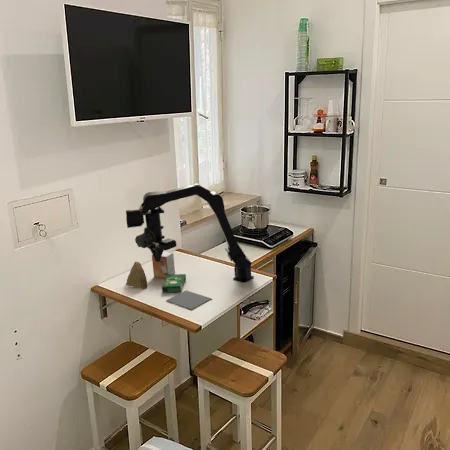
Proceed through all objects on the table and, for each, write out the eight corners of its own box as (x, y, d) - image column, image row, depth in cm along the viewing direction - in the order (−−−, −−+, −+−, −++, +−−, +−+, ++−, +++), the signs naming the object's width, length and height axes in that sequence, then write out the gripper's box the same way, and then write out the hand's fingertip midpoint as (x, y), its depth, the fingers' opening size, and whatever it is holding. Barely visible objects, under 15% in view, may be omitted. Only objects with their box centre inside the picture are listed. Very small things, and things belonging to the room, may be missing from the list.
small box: (153, 277, 212) (151, 254, 209) (161, 272, 217) (158, 250, 214) (168, 279, 208) (166, 256, 205) (175, 274, 213) (173, 252, 210)
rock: (154, 282, 200) (150, 271, 209) (140, 270, 196) (136, 259, 205) (135, 299, 201) (131, 288, 209) (120, 288, 196) (118, 276, 205)
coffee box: (181, 292, 194) (186, 279, 207) (181, 286, 193) (185, 273, 206) (162, 293, 195) (168, 280, 207) (161, 286, 194) (167, 273, 207)
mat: (211, 299, 186) (211, 298, 186) (191, 310, 178) (191, 309, 178) (186, 291, 195) (186, 290, 195) (166, 301, 187) (166, 300, 187)
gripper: (122, 226, 189) (127, 263, 193) (153, 233, 177) (158, 272, 182) (144, 219, 197) (148, 255, 201) (175, 225, 185) (179, 263, 189)
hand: (157, 261), depth 193 cm, fingers closed
